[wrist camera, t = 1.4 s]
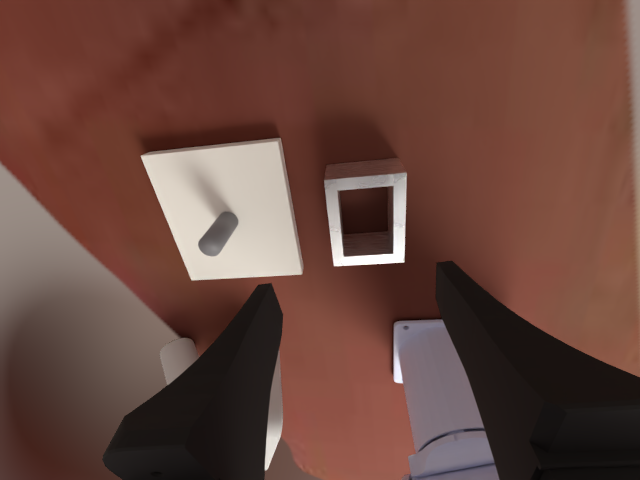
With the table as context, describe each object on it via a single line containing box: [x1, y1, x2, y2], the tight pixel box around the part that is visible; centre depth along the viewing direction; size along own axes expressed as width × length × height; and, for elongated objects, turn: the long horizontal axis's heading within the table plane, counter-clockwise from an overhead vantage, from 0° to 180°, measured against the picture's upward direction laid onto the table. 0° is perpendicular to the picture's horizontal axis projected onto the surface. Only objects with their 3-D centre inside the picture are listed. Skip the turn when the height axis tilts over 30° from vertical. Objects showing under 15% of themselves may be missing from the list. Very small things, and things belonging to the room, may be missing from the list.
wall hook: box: [160, 338, 283, 470], centre depth 27 cm, size 8×10×10 cm
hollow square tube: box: [324, 158, 407, 266], centre depth 20 cm, size 6×5×3 cm
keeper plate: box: [141, 138, 303, 280], centre depth 20 cm, size 9×10×4 cm
